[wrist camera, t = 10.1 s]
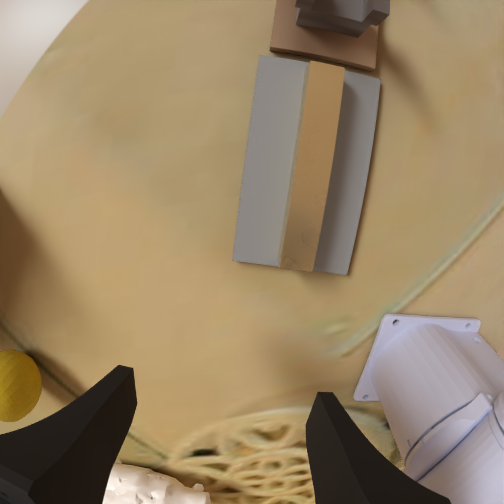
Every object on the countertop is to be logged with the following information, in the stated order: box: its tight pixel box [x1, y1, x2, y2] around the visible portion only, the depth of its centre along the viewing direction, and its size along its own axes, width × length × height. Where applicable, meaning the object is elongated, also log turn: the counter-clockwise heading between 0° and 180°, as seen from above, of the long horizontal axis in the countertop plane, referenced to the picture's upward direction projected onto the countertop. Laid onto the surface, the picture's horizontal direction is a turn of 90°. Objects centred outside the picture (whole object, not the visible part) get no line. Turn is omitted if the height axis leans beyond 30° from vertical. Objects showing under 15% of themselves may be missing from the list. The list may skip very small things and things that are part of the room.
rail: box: [278, 60, 345, 272], centre depth 16 cm, size 2×11×2 cm, turn 172°
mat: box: [232, 55, 381, 275], centre depth 18 cm, size 7×12×1 cm, turn 172°
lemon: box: [0, 350, 42, 422], centre depth 19 cm, size 6×6×8 cm
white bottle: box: [102, 463, 211, 504], centre depth 24 cm, size 8×19×8 cm, turn 94°
